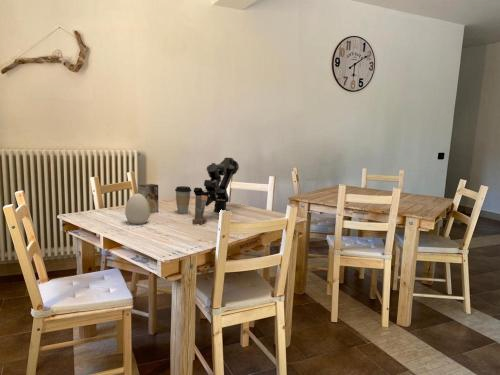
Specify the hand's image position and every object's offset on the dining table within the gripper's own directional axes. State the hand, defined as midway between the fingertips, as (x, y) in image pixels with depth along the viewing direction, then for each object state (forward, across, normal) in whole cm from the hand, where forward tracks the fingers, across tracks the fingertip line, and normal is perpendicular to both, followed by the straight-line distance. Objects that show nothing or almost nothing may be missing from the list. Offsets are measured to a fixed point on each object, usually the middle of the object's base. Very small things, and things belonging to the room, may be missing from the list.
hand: (206, 205), depth 206 cm
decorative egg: (+20, -29, -9) cm, 37 cm away
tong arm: (+10, 0, -3) cm, 11 cm away
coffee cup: (-2, -19, +13) cm, 23 cm away
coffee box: (+4, -36, +7) cm, 37 cm away
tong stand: (+12, 0, -1) cm, 12 cm away
